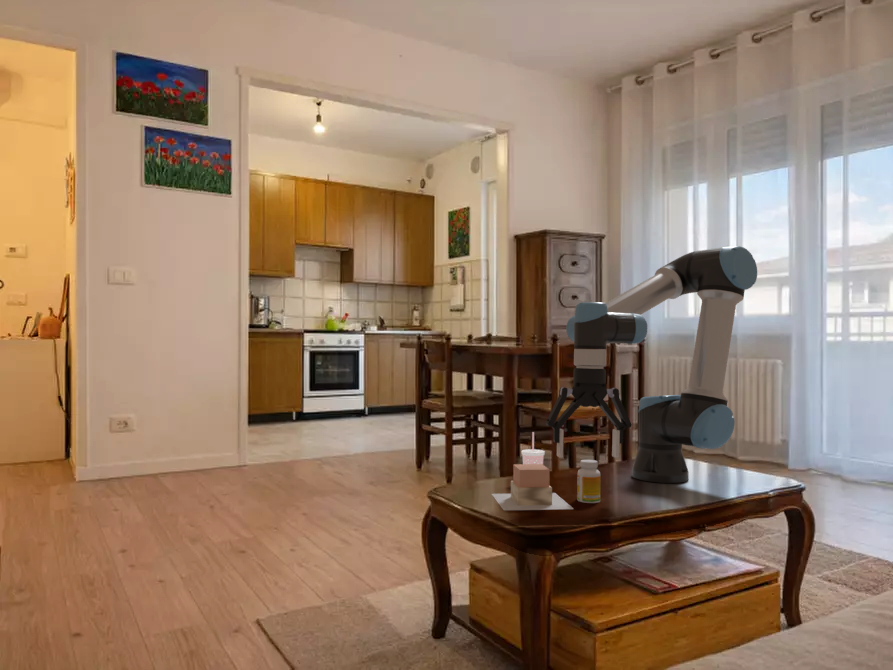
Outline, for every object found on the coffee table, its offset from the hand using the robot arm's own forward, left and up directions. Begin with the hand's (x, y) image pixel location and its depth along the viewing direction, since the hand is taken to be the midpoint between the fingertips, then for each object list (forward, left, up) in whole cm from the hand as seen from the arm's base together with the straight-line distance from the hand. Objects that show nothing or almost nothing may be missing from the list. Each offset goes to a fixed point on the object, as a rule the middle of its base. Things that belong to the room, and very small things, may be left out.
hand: (587, 457), depth 159 cm
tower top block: (+14, 0, -6) cm, 15 cm away
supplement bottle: (0, 0, -11) cm, 11 cm away
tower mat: (+14, 0, -11) cm, 17 cm away
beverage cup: (+9, -19, -11) cm, 24 cm away
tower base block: (+14, 0, -10) cm, 17 cm away
